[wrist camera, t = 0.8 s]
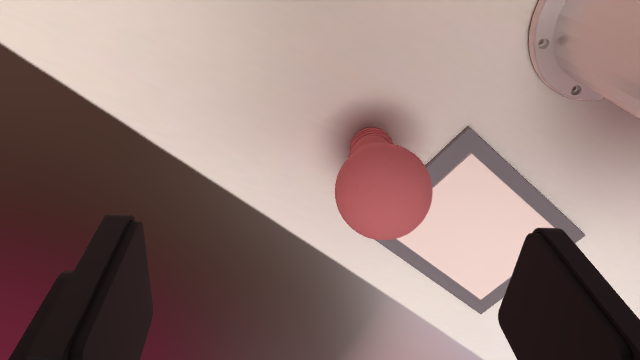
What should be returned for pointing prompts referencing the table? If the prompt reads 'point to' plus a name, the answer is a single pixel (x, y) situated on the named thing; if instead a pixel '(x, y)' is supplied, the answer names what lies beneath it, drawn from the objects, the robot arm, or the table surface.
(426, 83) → the table surface
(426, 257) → the gray rectangular picture frame
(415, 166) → the light bulb
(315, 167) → the table surface
